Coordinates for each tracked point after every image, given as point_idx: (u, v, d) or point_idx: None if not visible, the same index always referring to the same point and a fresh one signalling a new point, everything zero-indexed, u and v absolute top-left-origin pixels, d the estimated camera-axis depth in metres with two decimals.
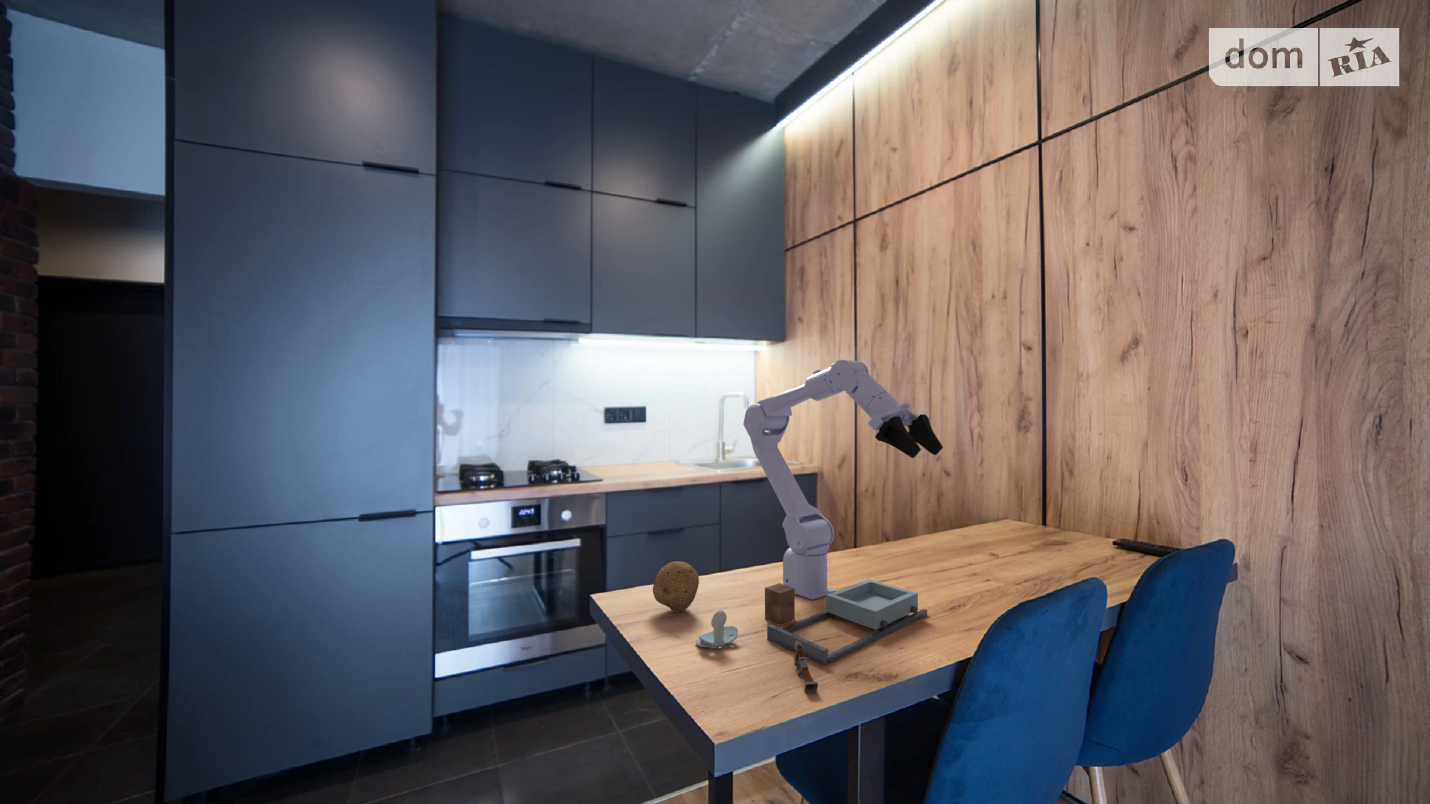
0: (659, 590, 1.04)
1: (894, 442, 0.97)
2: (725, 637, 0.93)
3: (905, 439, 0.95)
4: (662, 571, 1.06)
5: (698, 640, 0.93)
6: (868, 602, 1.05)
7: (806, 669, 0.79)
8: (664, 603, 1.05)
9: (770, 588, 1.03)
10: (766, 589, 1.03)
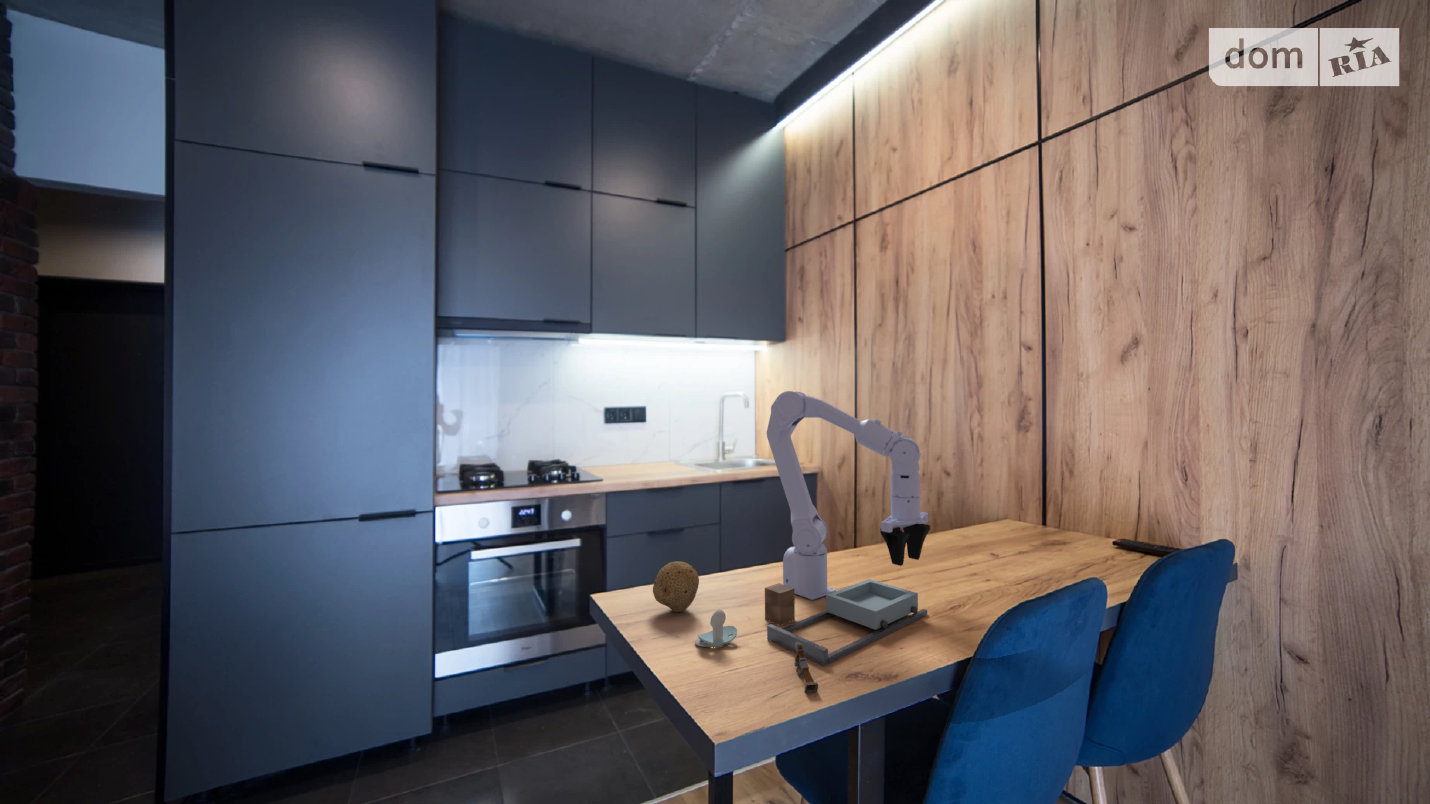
0: (659, 590, 1.04)
1: (890, 543, 1.10)
2: (724, 636, 0.94)
3: (898, 550, 1.08)
4: (662, 571, 1.06)
5: (697, 640, 0.93)
6: (868, 602, 1.05)
7: (806, 669, 0.79)
8: (664, 603, 1.05)
9: (770, 588, 1.03)
10: (766, 590, 1.03)
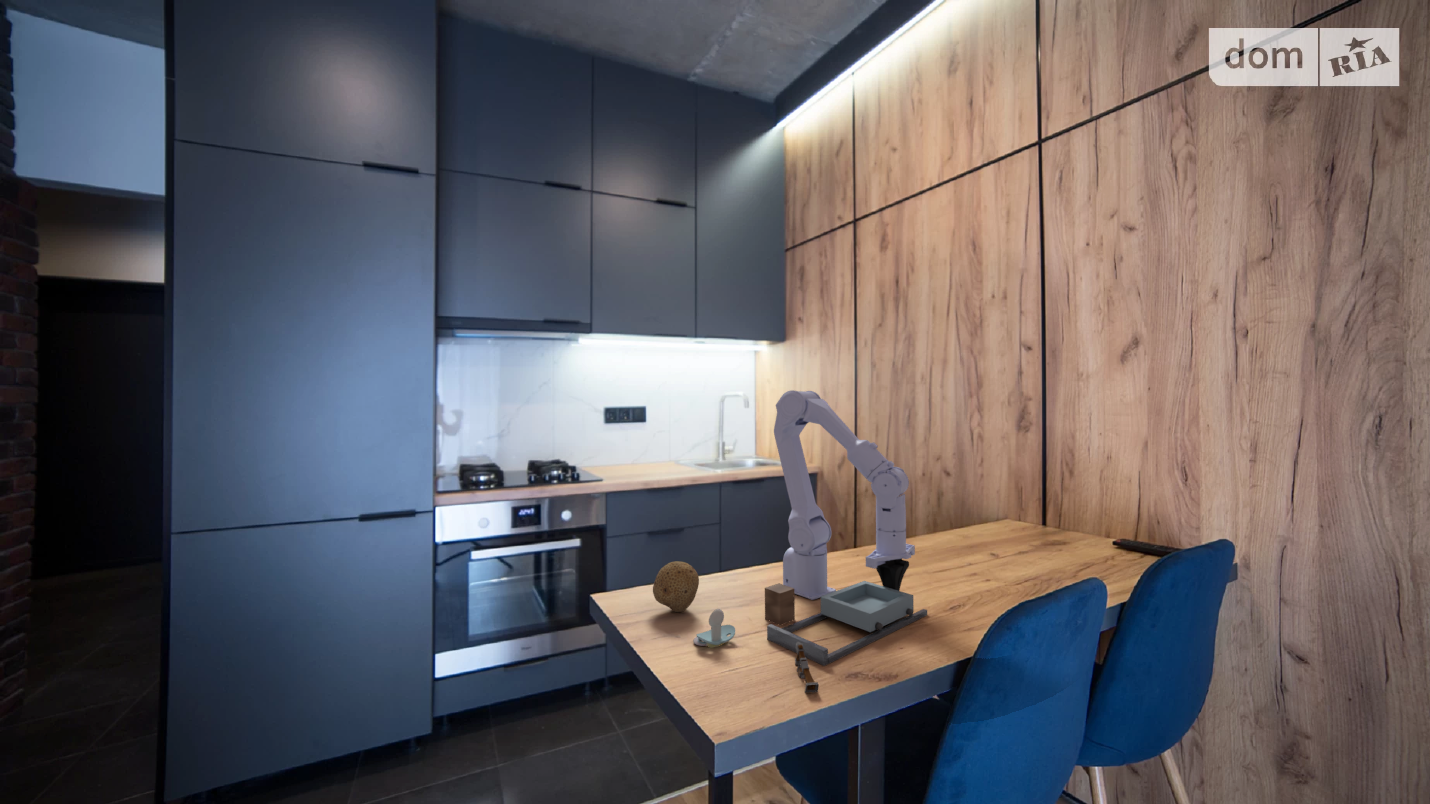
0: (659, 590, 1.04)
1: (883, 575, 1.08)
2: (723, 635, 0.94)
3: (892, 583, 1.07)
4: (662, 571, 1.06)
5: (696, 639, 0.93)
6: (863, 604, 1.04)
7: (807, 669, 0.79)
8: (664, 603, 1.05)
9: (770, 588, 1.03)
10: (765, 590, 1.03)
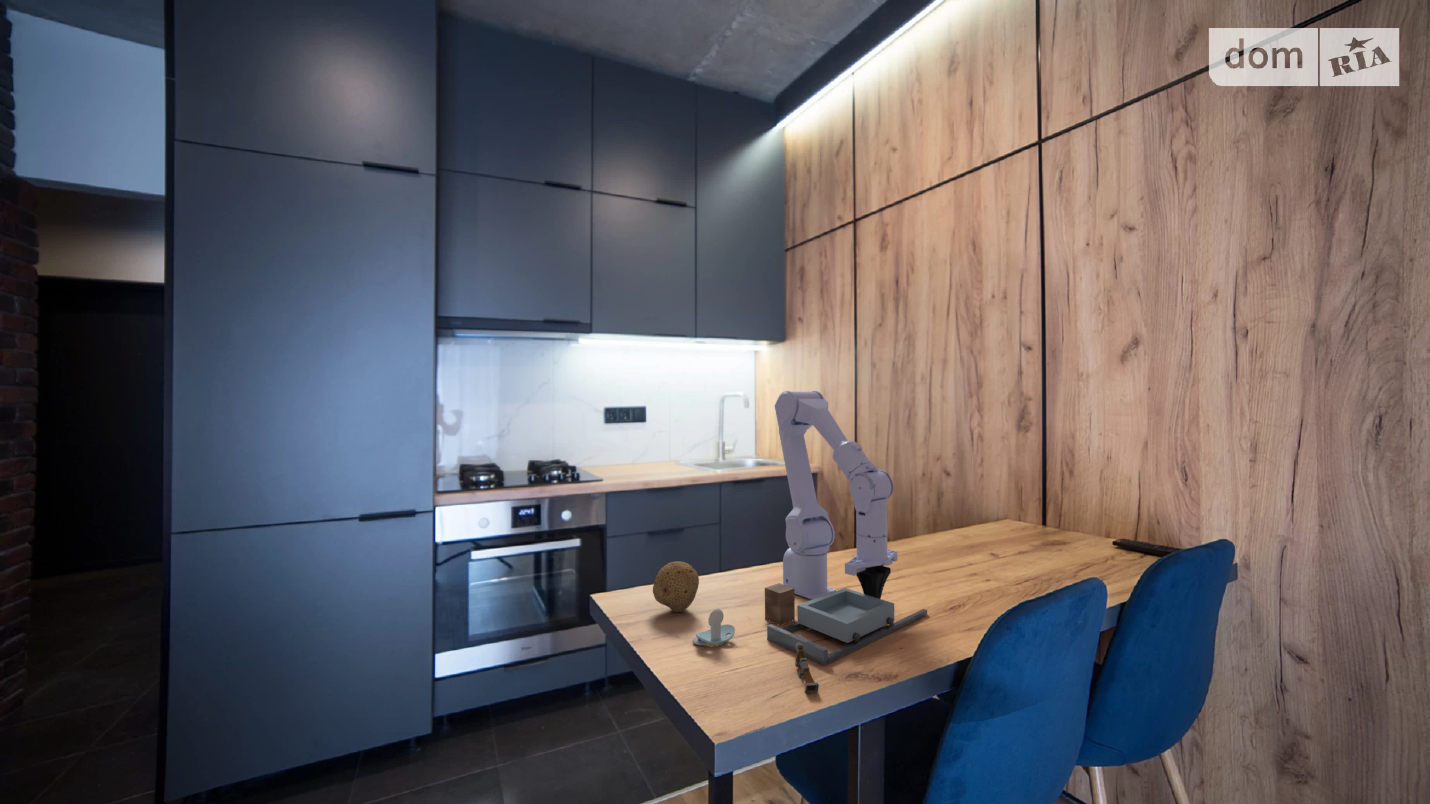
0: (659, 590, 1.04)
1: (864, 582, 1.04)
2: (722, 635, 0.94)
3: (873, 590, 1.03)
4: (662, 571, 1.06)
5: (695, 638, 0.94)
6: (842, 612, 1.00)
7: (807, 670, 0.79)
8: (664, 603, 1.05)
9: (770, 588, 1.03)
10: (765, 590, 1.03)
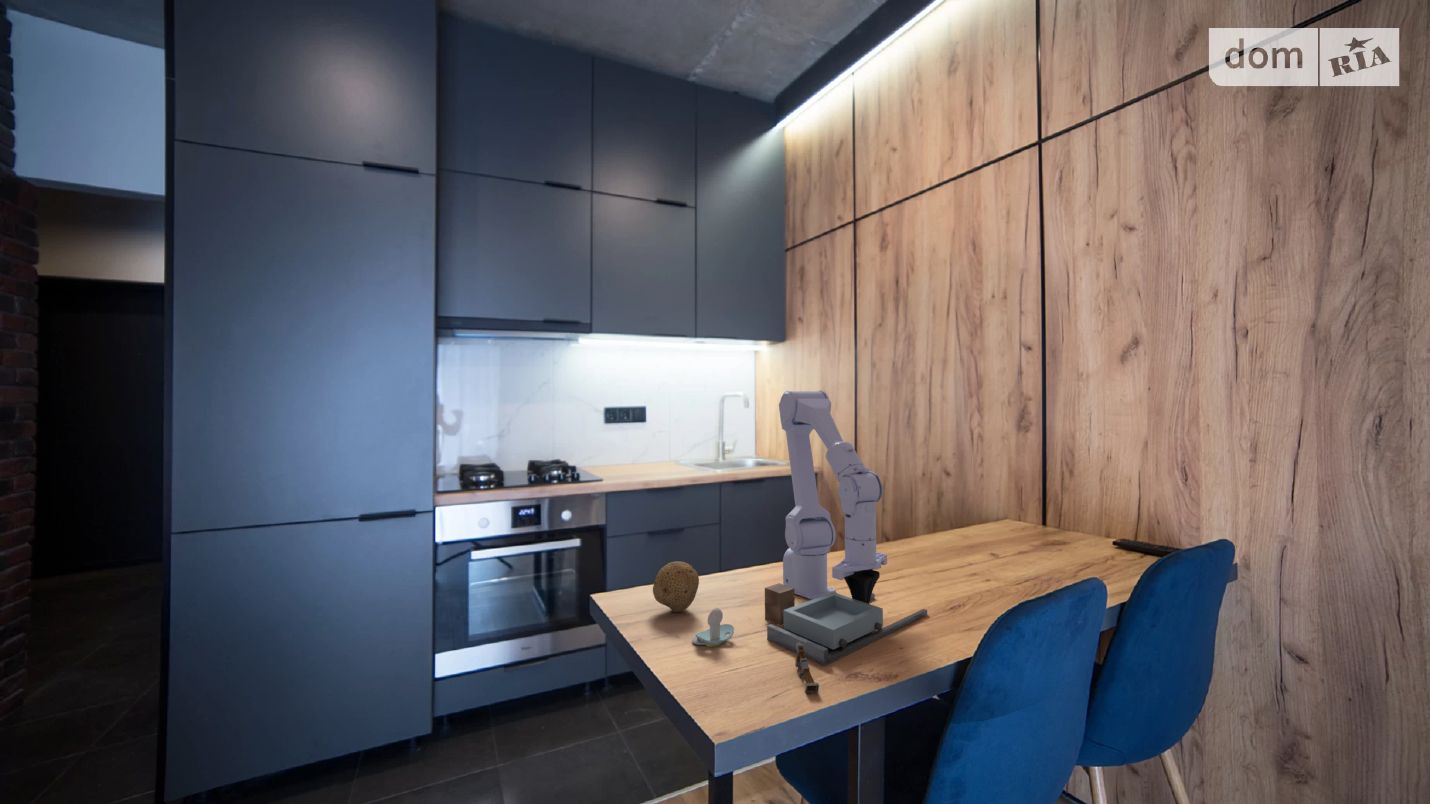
0: (659, 590, 1.04)
1: (852, 587, 1.02)
2: (721, 634, 0.94)
3: (861, 595, 1.00)
4: (662, 571, 1.06)
5: (695, 638, 0.94)
6: (830, 618, 0.98)
7: (807, 670, 0.79)
8: (664, 603, 1.05)
9: (770, 588, 1.03)
10: (765, 590, 1.03)
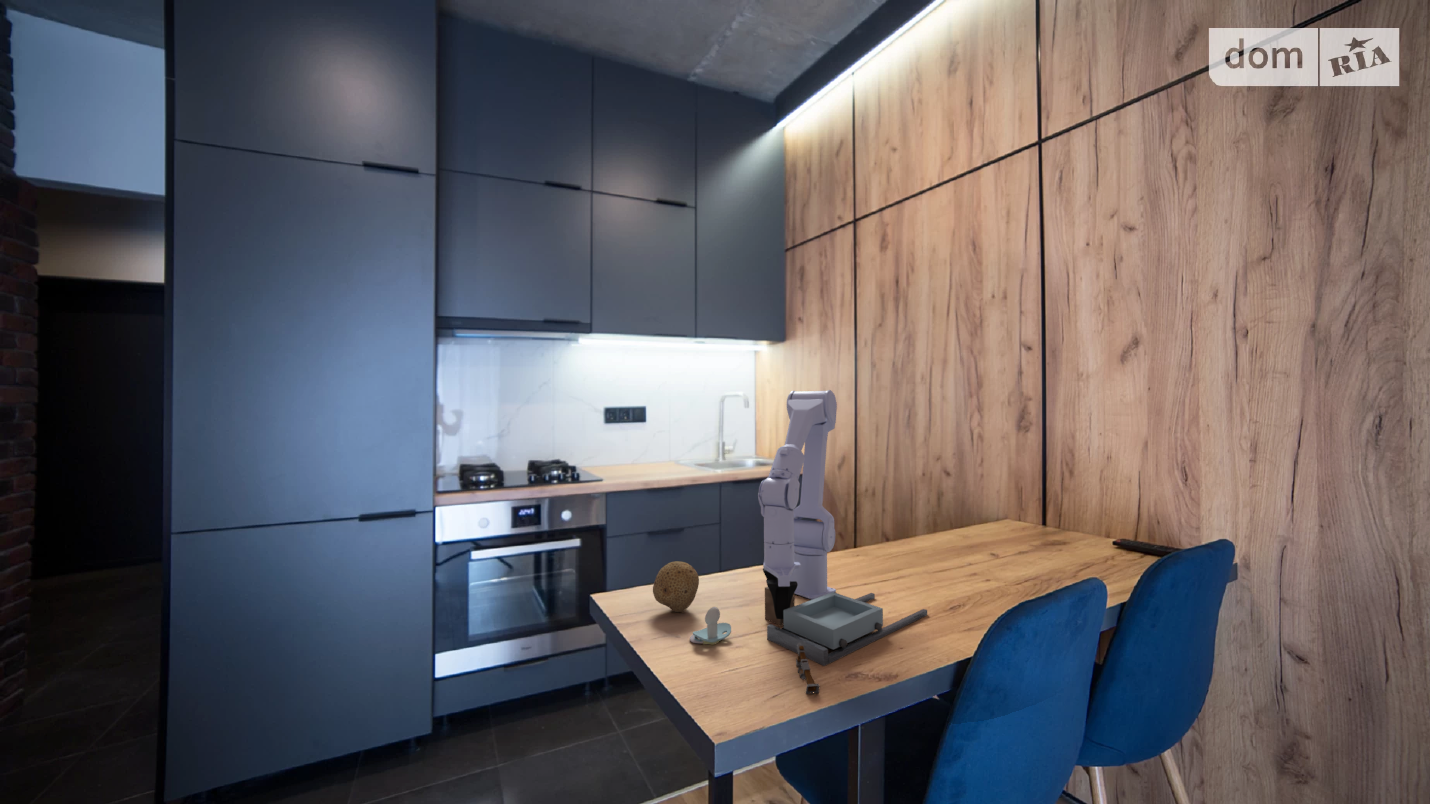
0: (659, 590, 1.04)
1: (775, 597, 0.99)
2: (719, 633, 0.95)
3: (785, 602, 1.00)
4: (662, 571, 1.06)
5: (692, 636, 0.94)
6: (830, 618, 0.98)
7: (807, 671, 0.79)
8: (664, 603, 1.05)
9: None
10: (765, 589, 1.03)
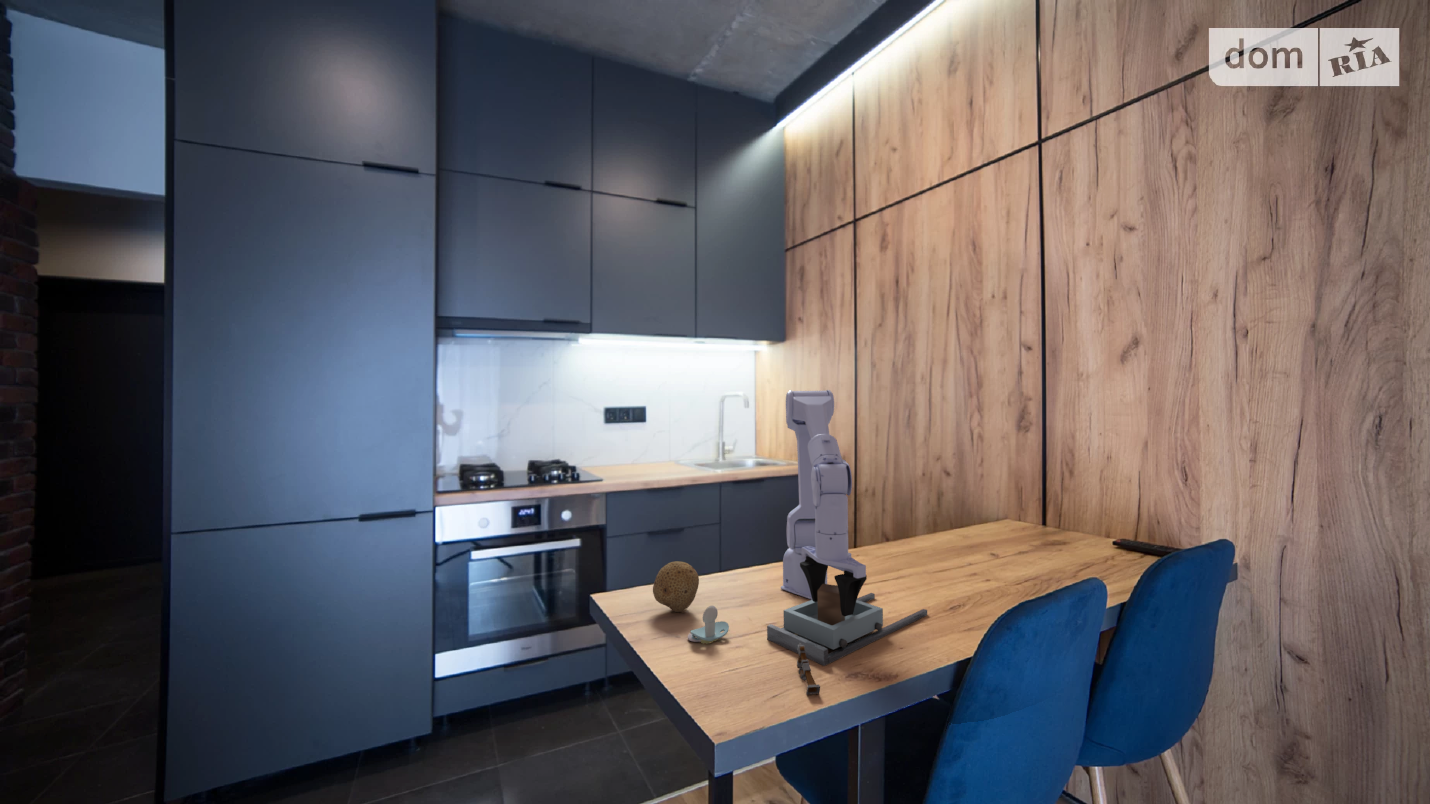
0: (659, 590, 1.04)
1: None
2: (716, 632, 0.95)
3: (852, 597, 0.93)
4: (662, 571, 1.06)
5: (690, 635, 0.95)
6: None
7: (808, 671, 0.79)
8: (664, 603, 1.05)
9: (823, 590, 0.95)
10: (819, 592, 0.95)
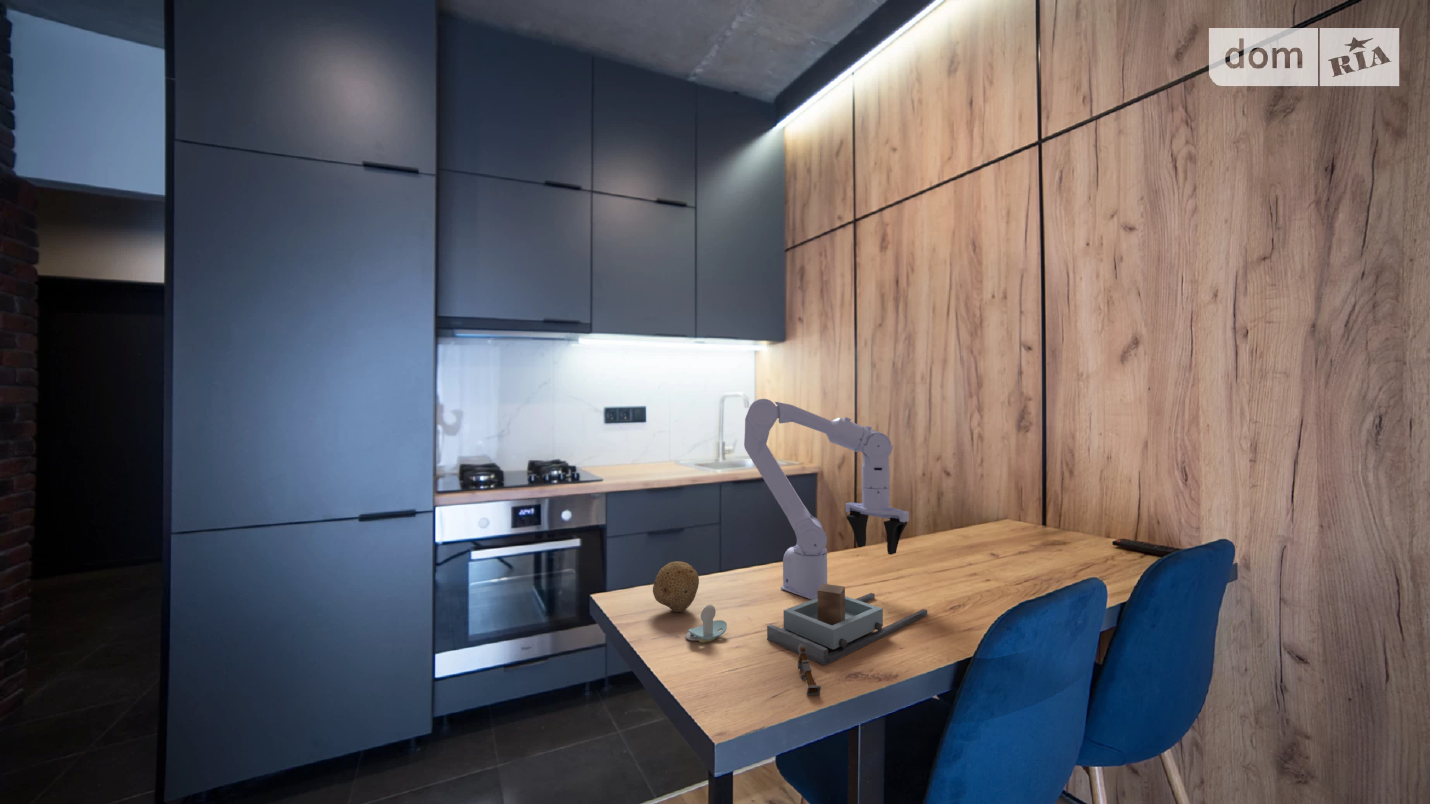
0: (659, 590, 1.04)
1: None
2: (714, 630, 0.96)
3: (895, 539, 1.14)
4: (662, 571, 1.06)
5: (688, 634, 0.95)
6: None
7: (809, 672, 0.78)
8: (664, 603, 1.05)
9: (823, 590, 0.95)
10: (819, 592, 0.95)
